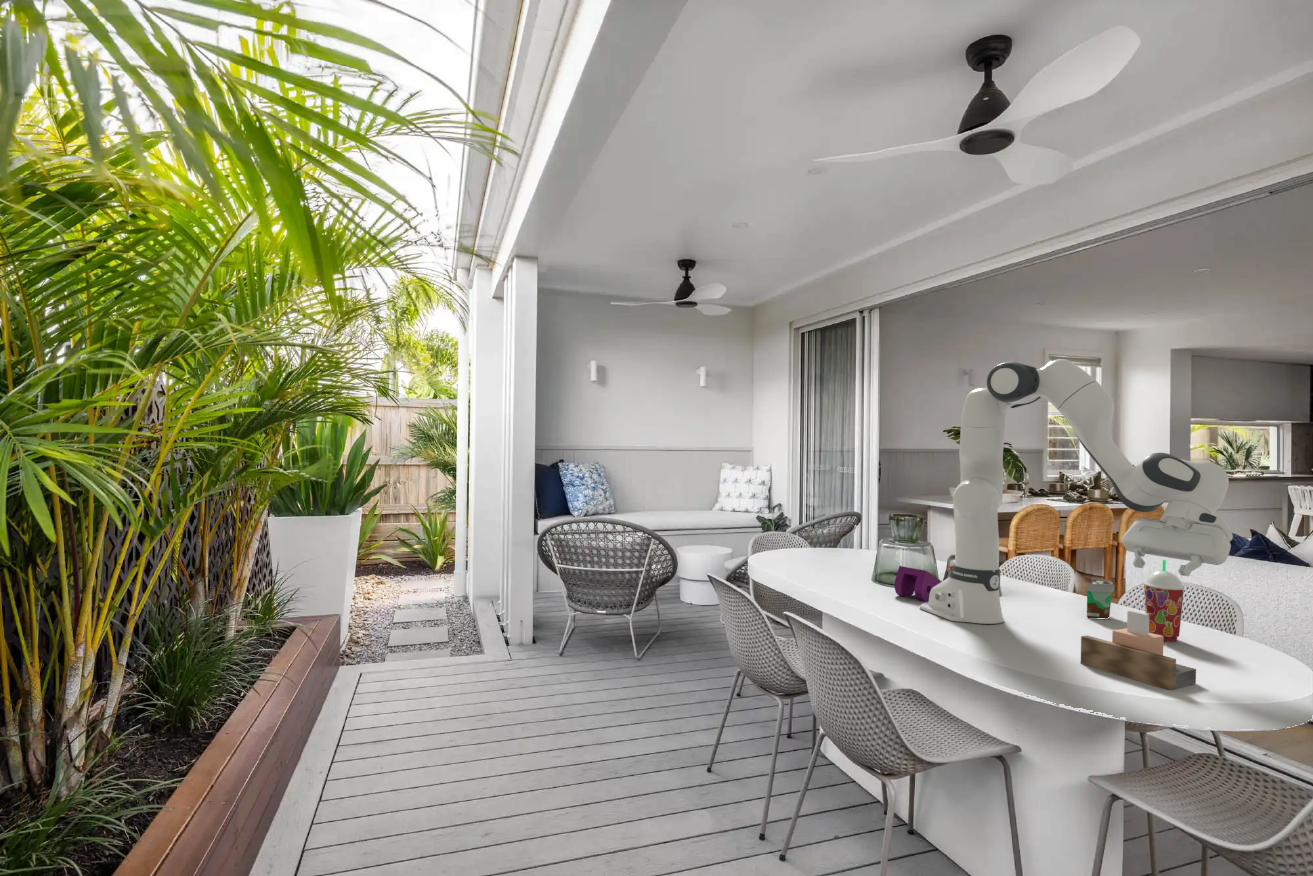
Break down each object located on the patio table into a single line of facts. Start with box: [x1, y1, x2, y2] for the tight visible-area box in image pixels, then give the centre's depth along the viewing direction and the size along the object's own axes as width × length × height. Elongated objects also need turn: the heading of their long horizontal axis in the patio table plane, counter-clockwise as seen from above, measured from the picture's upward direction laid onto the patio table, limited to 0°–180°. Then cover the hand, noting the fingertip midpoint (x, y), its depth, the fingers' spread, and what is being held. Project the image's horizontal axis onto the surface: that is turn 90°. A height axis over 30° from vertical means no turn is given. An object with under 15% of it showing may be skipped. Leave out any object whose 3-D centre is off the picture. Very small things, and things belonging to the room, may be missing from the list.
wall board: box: [1080, 635, 1197, 691], centre depth 150 cm, size 18×10×6 cm, turn 27°
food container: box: [1086, 577, 1115, 619], centre depth 199 cm, size 12×6×10 cm, turn 143°
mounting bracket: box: [894, 565, 942, 603], centre depth 220 cm, size 9×8×18 cm
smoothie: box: [1143, 559, 1185, 642], centre depth 177 cm, size 8×8×20 cm
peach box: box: [1111, 609, 1164, 656], centre depth 150 cm, size 7×6×10 cm
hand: (1159, 570), depth 156 cm, fingers open, 8 cm apart
